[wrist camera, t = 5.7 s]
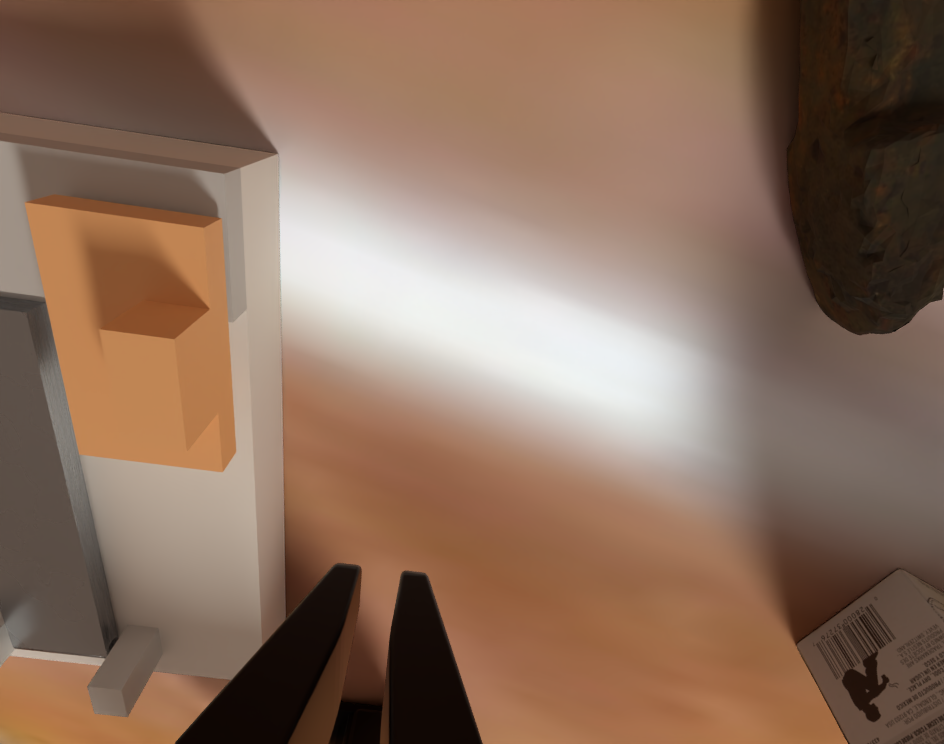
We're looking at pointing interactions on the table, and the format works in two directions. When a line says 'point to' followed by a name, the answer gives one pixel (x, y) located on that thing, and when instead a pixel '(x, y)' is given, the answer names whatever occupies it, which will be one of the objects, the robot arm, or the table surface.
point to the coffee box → (884, 663)
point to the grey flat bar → (45, 501)
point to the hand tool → (870, 159)
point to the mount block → (160, 486)
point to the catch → (139, 329)
